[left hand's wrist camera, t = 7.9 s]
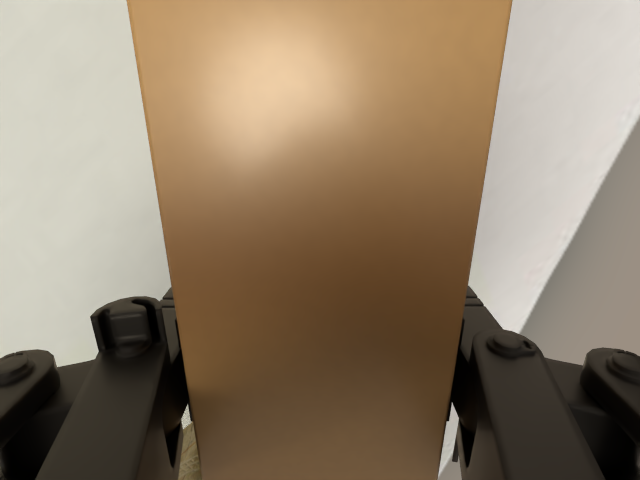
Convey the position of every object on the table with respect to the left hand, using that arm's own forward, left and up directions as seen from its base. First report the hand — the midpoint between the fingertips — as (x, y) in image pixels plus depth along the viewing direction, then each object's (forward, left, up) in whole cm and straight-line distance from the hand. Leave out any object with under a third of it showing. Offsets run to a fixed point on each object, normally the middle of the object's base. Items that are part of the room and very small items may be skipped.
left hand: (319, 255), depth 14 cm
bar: (+8, +2, -1) cm, 8 cm away
